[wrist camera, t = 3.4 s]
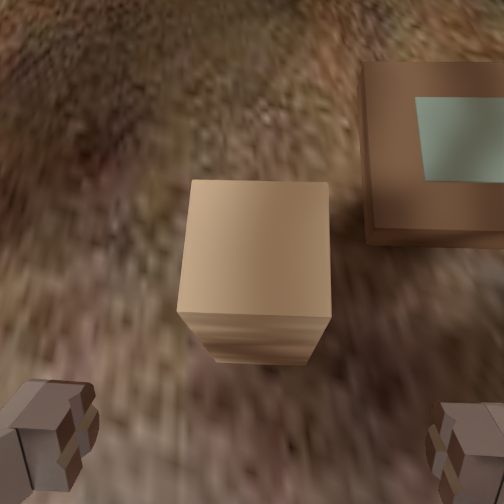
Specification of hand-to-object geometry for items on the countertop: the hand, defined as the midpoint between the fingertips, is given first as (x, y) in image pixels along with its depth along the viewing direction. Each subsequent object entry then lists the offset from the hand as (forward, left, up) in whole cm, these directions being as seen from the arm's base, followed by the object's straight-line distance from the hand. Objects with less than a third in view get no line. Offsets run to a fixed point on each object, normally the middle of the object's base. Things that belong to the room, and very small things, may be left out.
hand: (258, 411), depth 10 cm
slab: (+10, +13, -9) cm, 19 cm away
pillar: (0, +4, -9) cm, 10 cm away
